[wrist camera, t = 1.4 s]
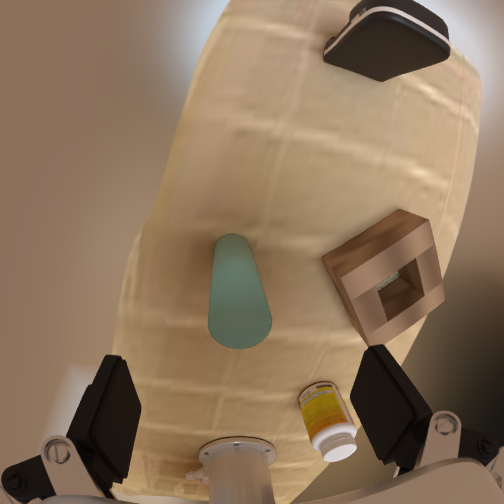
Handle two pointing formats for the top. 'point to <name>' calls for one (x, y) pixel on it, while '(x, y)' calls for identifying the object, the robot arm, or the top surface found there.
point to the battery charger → (389, 39)
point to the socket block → (382, 266)
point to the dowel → (237, 296)
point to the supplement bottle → (328, 421)
